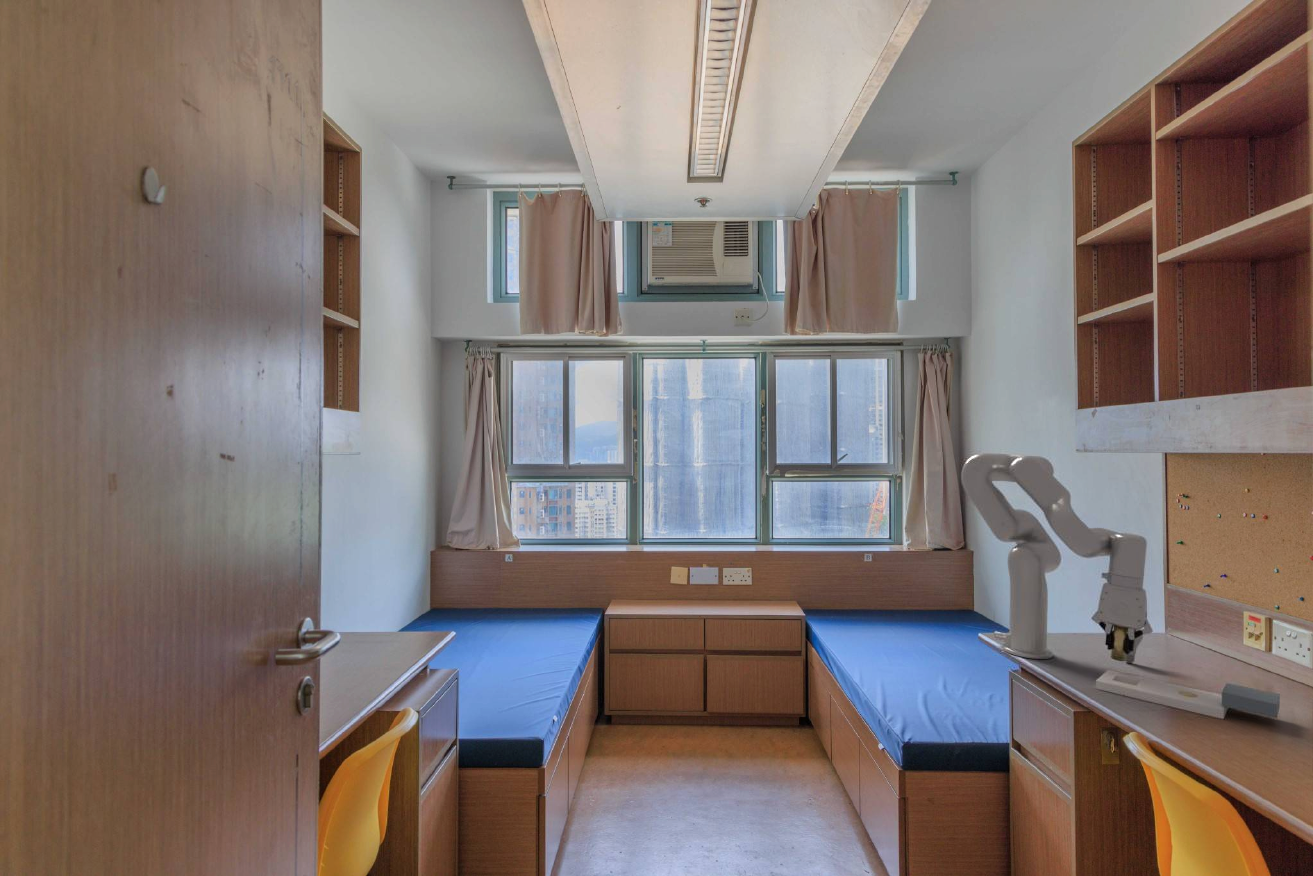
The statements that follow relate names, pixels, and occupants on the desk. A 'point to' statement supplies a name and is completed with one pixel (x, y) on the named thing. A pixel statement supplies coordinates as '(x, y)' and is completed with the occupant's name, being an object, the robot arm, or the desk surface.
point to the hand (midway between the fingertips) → (1118, 650)
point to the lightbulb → (1131, 655)
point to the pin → (1119, 643)
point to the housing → (1251, 700)
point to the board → (1163, 693)
